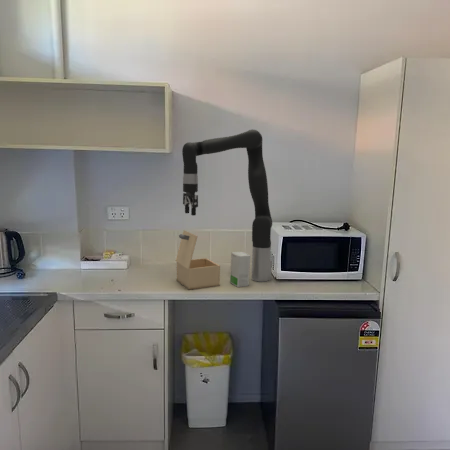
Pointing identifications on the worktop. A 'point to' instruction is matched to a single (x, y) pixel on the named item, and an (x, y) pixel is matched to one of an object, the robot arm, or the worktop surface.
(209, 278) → the carton
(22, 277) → the worktop surface
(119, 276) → the worktop surface
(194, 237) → the lid flap
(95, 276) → the worktop surface
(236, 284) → the skincare box
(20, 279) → the worktop surface
